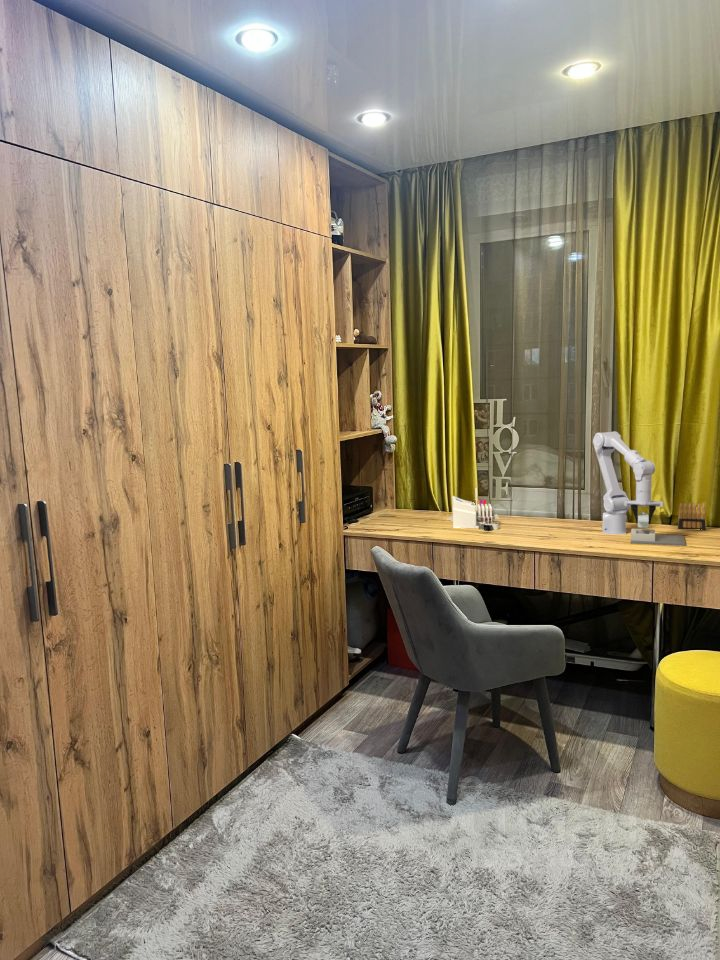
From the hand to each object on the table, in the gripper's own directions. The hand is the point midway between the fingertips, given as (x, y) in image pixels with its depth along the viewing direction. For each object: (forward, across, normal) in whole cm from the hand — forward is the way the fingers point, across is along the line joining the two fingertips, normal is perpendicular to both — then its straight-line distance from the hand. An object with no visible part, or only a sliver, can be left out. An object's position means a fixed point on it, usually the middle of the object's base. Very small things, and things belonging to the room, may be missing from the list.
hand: (643, 523), depth 281 cm
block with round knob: (+1, 0, 0) cm, 1 cm away
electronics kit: (+8, -75, +22) cm, 79 cm away
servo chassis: (+7, +6, 0) cm, 9 cm away
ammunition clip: (+7, +20, +24) cm, 32 cm away
